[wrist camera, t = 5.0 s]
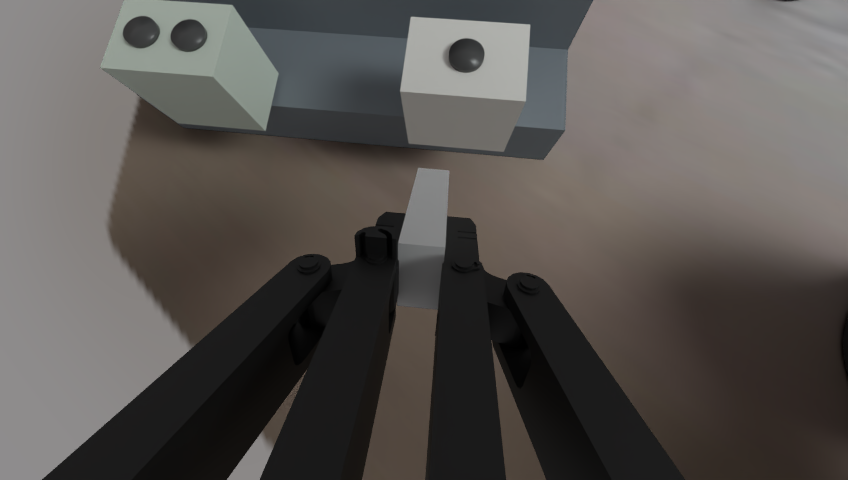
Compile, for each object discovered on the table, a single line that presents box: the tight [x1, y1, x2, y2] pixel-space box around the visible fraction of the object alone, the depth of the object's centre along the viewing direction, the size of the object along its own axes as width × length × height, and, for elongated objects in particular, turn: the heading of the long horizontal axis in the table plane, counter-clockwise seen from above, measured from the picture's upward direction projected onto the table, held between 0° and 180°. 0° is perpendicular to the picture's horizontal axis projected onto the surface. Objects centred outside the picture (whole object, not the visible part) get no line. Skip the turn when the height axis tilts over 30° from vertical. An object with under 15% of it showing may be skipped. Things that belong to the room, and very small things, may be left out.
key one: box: [400, 17, 530, 152], centre depth 21 cm, size 5×7×6 cm
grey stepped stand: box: [137, 0, 593, 160], centre depth 25 cm, size 14×34×14 cm, turn 84°
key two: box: [100, 0, 279, 131], centre depth 22 cm, size 5×7×6 cm
